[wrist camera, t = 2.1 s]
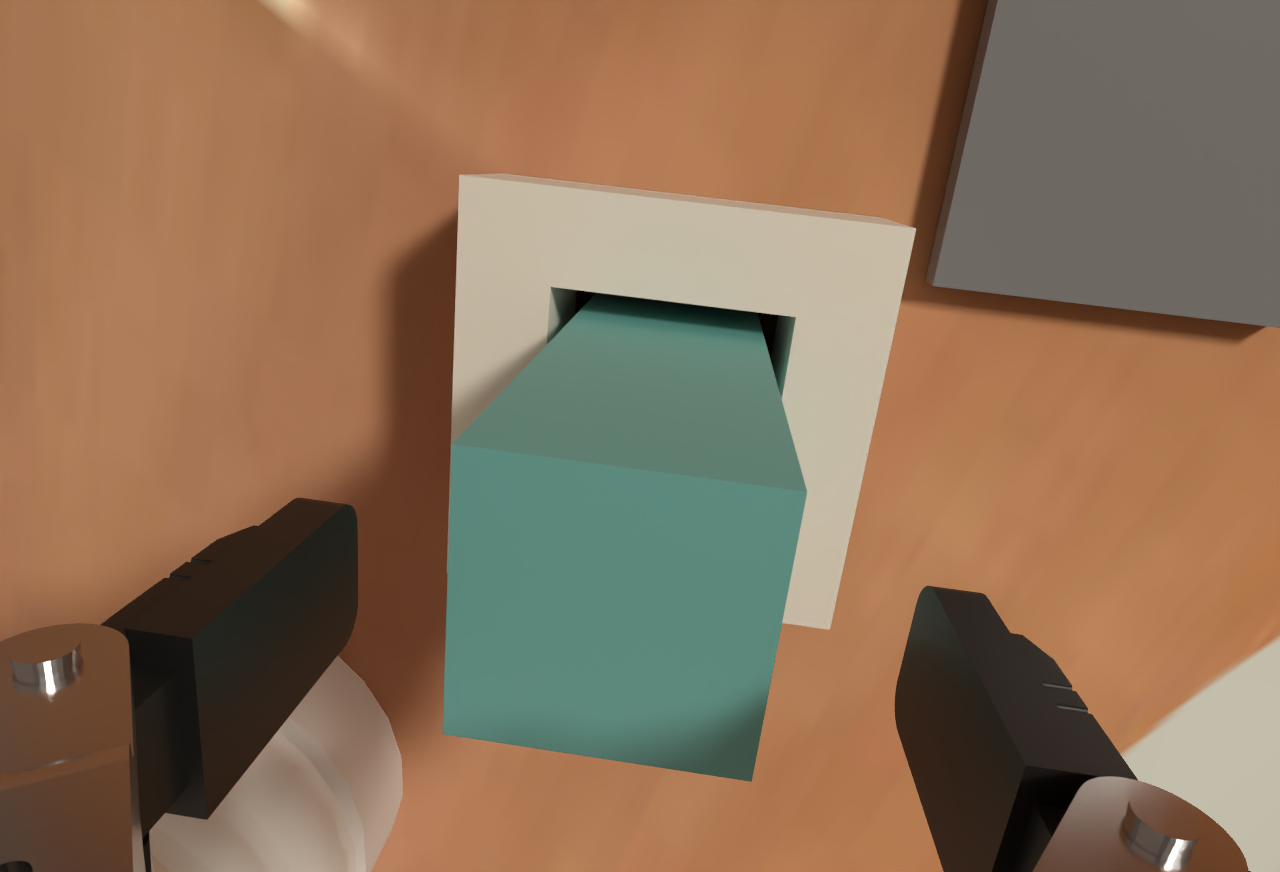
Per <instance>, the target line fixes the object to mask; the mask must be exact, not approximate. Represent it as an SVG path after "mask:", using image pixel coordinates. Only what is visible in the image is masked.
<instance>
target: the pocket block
mask: <svg viewBox="0 0 1280 872" xmlns="http://www.w3.org/2000/svg"><path fill="white" fill-rule="evenodd" d="M915 233H916V228H913V227H910V226H907V225H904V224H900V223H897V222H894V221H890V220H887V219H884V218H881V217H873V216H864V215H856V214H847V213H838V212H830V211H821V210H813V209H804V208H796V207H787V206H778V205H770V204H761V203H753V202H744V201H736V200H727V199H718V198H710V197H701V196H693V195H684V194H676V193H667V192H658V191H650V190H641V189H633V188H624V187H616V186H607V185H598V184H590V183H581V182H573V181H564V180H556V179H547V178H538V177H530V176H521V175H513V174H474V175H459V204H458V235H457V267H456V298H455V329H454V360H453V391H452V423H451V454H450V485H449V516H448V548H447V575H448V549H449V518H450V487H451V456H452V443H453V442H454V441H455V440H456V439H457V438H458V437H459V436H460V435H461V434H462V433H463V432H464V431H465V430H466V429H467V428H468V427H469V426H470V425H471V424H472V423H473V421H474V420H475V419H476V418H477V417H478V416H479V415H480V414H481V413H482V412H483V411H484V410H485V409H486V408H487V407H488V406H489V405H490V404H491V403H492V402H493V401H494V400H495V398H496V397H497V396H498V395H499V394H500V393H501V392H502V391H503V390H504V389H505V388H506V387H507V386H508V385H509V384H510V383H511V382H512V381H513V380H514V379H515V378H516V377H517V375H518V374H519V373H520V372H521V371H522V370H523V369H524V368H525V367H526V366H527V365H528V364H529V363H530V362H531V361H532V360H533V359H534V358H535V357H536V356H537V355H538V354H539V352H540V351H541V350H542V349H543V348H544V347H545V346H546V345H547V344H548V343H549V342H550V341H551V340H552V339H553V338H554V337H555V336H556V335H557V334H558V333H559V332H560V331H561V329H562V328H563V327H564V326H565V325H566V324H567V323H568V322H569V321H570V320H571V319H572V318H573V317H574V316H575V310H576V298H577V290H580V291H588V292H596V293H604V294H612V295H621V296H629V297H637V298H645V299H653V300H661V301H669V302H677V303H685V304H693V305H701V306H710V307H718V308H726V309H734V310H742V311H750V312H758V313H766V314H774V315H778V319H777V325H776V331H775V337H774V343H773V349H772V355H771V363H772V367H773V371H774V374H775V378H776V381H777V385H778V389H779V392H780V396H781V399H782V403H783V406H784V410H785V414H786V417H787V421H788V424H789V428H790V432H791V435H792V439H793V442H794V446H795V450H796V453H797V457H798V460H799V464H800V468H801V471H802V475H803V478H804V482H805V485H806V489H807V496H806V501H805V507H804V512H803V517H802V522H801V527H800V533H799V538H798V543H797V548H796V553H795V559H794V564H793V569H792V574H791V579H790V584H789V590H788V595H787V600H786V605H785V610H784V616H783V621H782V623H786V624H793V625H800V626H807V627H814V628H821V629H828V630H830V626H831V622H832V617H833V612H834V608H835V603H836V598H837V594H838V589H839V585H840V580H841V575H842V571H843V566H844V561H845V557H846V552H847V548H848V543H849V538H850V534H851V529H852V524H853V520H854V515H855V511H856V506H857V501H858V497H859V492H860V487H861V483H862V478H863V473H864V469H865V464H866V460H867V455H868V450H869V446H870V441H871V436H872V432H873V427H874V423H875V418H876V413H877V409H878V404H879V399H880V395H881V390H882V386H883V381H884V376H885V372H886V367H887V362H888V358H889V353H890V348H891V344H892V339H893V335H894V330H895V325H896V321H897V316H898V311H899V307H900V302H901V298H902V293H903V288H904V284H905V279H906V274H907V270H908V265H909V261H910V256H911V251H912V247H913V242H914V237H915Z"/></svg>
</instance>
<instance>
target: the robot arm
mask: <svg viewBox="0 0 1280 872" xmlns="http://www.w3.org/2000/svg"><path fill="white" fill-rule="evenodd" d="M357 608H358V534H357V516H356V512H355V510H354V508H353V507H352V506H351V505H348V504H341V503H334V502H327V501H319V500H312V499H305V498H296V499H294V500H292V501H291V502H290V503H288V504H287V505H286V506H284V507H283V508H282V509H280V510H279V511H278V512H276V513H275V514H274V515H273V516H271V517H270V518H269V519H267V520H266V521H265V522H263V523H262V524H261V525H259V526H251V527H249V528H246V529H243V530H241V531H238V532H236V533H233V534H230V535H228V536H225V537H223V538H220V539H217V540H216V541H215V542H213V543H212V544H210V545H209V546H208V547H206V548H205V549H204V550H202V551H201V552H199V553H198V554H197V555H195V556H194V557H193V558H192V560H191V562H186V563H184V564H183V565H182V566H180V567H179V568H177V569H176V570H175V571H173V572H172V573H171V574H170V577H169V578H164V579H162V580H161V581H159V582H158V583H157V584H155V585H154V586H153V587H151V588H150V589H148V590H147V591H146V592H144V593H143V594H142V595H140V596H139V597H137V598H136V599H135V600H133V601H132V602H131V603H129V604H128V605H126V606H125V607H124V608H122V609H121V610H120V611H118V612H117V613H115V614H114V615H113V616H111V617H110V618H109V619H107V620H106V621H104V622H103V623H102V624H100V625H95V624H64V625H56V626H50V627H45V628H40V629H36V630H32V631H28V632H25V633H22V634H19V635H16V636H13V637H10V638H8V639H6V640H3V641H1V642H0V872H153V857H152V845H151V837H150V830H151V829H152V827H153V826H154V825H155V824H156V823H157V822H158V820H159V819H160V818H161V817H162V816H163V815H164V814H165V813H168V814H174V815H180V816H186V817H192V818H199V819H205V820H208V818H209V817H210V816H211V815H212V813H213V812H214V811H215V810H216V808H217V807H218V806H219V804H220V803H221V802H222V801H223V799H224V798H225V797H226V796H227V794H228V793H229V792H230V791H231V789H232V788H233V787H234V786H235V784H236V783H237V782H238V780H239V779H240V778H241V777H242V775H243V774H244V773H245V772H246V770H247V769H248V768H249V767H250V765H251V764H252V763H253V762H254V760H255V759H256V758H257V757H258V755H259V754H260V753H261V751H262V750H263V749H264V748H265V746H266V745H267V744H268V743H269V741H270V740H271V739H272V738H273V736H274V735H275V734H276V733H277V731H278V730H279V729H280V727H281V726H282V725H283V724H284V722H285V721H286V720H287V719H288V717H289V716H290V715H291V714H292V712H293V711H294V710H295V709H296V707H297V706H298V705H299V703H300V702H301V701H302V700H303V698H304V697H305V696H306V695H307V693H308V692H309V691H310V690H311V688H312V687H313V686H314V685H315V683H316V682H317V681H318V680H319V678H320V677H321V676H322V674H323V673H324V672H325V671H326V669H327V668H328V667H329V666H330V664H331V663H332V662H333V661H334V659H335V658H336V657H337V656H338V654H339V653H340V652H341V650H342V649H343V648H344V646H345V645H346V643H347V642H348V640H349V638H350V635H351V633H352V630H353V627H354V624H355V620H356V615H357ZM1087 710H1088V708H1087V706H1086V705H1085V704H1084V702H1083V701H1082V699H1081V698H1080V696H1079V695H1078V694H1077V692H1076V691H1072V685H1071V684H1070V682H1069V681H1068V679H1067V678H1066V676H1065V675H1064V674H1063V672H1062V671H1061V669H1060V668H1059V666H1058V665H1057V664H1056V662H1055V661H1054V659H1052V658H1051V657H1050V656H1048V655H1047V654H1046V653H1045V652H1043V651H1042V650H1041V649H1040V648H1038V647H1037V646H1036V645H1034V644H1033V643H1032V642H1031V641H1029V640H1028V639H1027V638H1025V637H1024V636H1023V635H1019V634H1012V633H1010V632H1009V630H1008V629H1007V627H1006V626H1005V624H1004V623H1003V621H1002V620H1001V618H1000V616H999V615H998V613H997V612H996V610H995V609H994V607H993V606H992V604H991V602H990V601H989V599H988V598H987V597H986V595H984V594H983V593H977V592H969V591H962V590H955V589H948V588H940V587H933V586H926V587H925V588H923V590H922V591H921V593H920V595H919V598H918V601H917V604H916V608H915V612H914V616H913V620H912V624H911V628H910V632H909V636H908V640H907V644H906V648H905V652H904V657H903V661H902V665H901V669H900V673H899V677H898V681H897V686H896V694H895V719H896V726H897V730H898V733H899V736H900V740H901V743H902V746H903V749H904V752H905V755H906V758H907V761H908V764H909V767H910V770H911V773H912V776H913V779H914V782H915V785H916V788H917V791H918V795H919V798H920V801H921V804H922V807H923V810H924V813H925V816H926V819H927V822H928V825H929V828H930V831H931V834H932V837H933V840H934V843H935V846H936V850H937V853H938V856H939V859H940V862H941V865H942V868H943V871H944V872H1250V871H1248V867H1247V863H1246V859H1245V857H1244V855H1243V853H1242V852H1241V850H1240V848H1239V847H1238V845H1237V844H1236V843H1235V842H1234V840H1233V839H1232V838H1231V837H1230V836H1229V834H1228V833H1227V832H1226V831H1225V830H1224V829H1223V828H1222V827H1221V826H1220V825H1218V824H1217V823H1216V822H1215V821H1214V820H1213V819H1211V818H1210V817H1209V816H1208V815H1206V814H1205V813H1203V812H1202V811H1201V810H1199V809H1198V808H1196V807H1195V806H1193V805H1192V804H1190V803H1188V802H1187V801H1185V800H1183V799H1181V798H1179V797H1178V796H1176V795H1174V794H1172V793H1170V792H1167V791H1165V790H1163V789H1161V788H1158V787H1156V786H1153V785H1150V784H1147V783H1145V782H1141V781H1138V779H1137V778H1136V776H1135V775H1134V774H1133V772H1132V771H1131V769H1130V768H1129V767H1128V765H1127V764H1126V762H1125V761H1124V759H1123V758H1122V756H1121V755H1120V754H1119V752H1118V751H1117V749H1116V748H1115V746H1114V745H1113V744H1112V742H1111V741H1110V739H1109V738H1108V736H1107V735H1106V734H1105V732H1104V731H1103V729H1102V728H1101V726H1100V725H1099V724H1098V722H1097V721H1096V719H1095V718H1094V716H1093V715H1092V714H1088V711H1087Z"/></svg>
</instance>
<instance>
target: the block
mask: <svg viewBox="0 0 1280 872" xmlns="http://www.w3.org/2000/svg"><path fill="white" fill-rule="evenodd" d="M806 496H807V489H806V485H805V482H804V478H803V475H802V471H801V468H800V464H799V460H798V457H797V453H796V450H795V446H794V442H793V439H792V435H791V432H790V428H789V424H788V421H787V417H786V414H785V410H784V406H783V403H782V399H781V396H780V392H779V389H778V385H777V381H776V378H775V374H774V371H773V367H772V363H771V360H770V356H769V353H768V349H767V345H766V342H765V338H764V335H763V331H762V327H761V324H760V320H759V317H758V313H757V312H750V311H742V310H734V309H726V308H718V307H710V306H701V305H693V304H685V303H677V302H669V301H661V300H653V299H645V298H637V297H629V296H621V295H612V294H604V293H596V294H595V295H594V296H593V297H592V298H591V299H590V300H589V301H588V302H587V303H586V304H585V305H584V306H583V308H582V309H581V310H580V311H579V312H578V313H577V314H576V315H575V316H574V317H573V318H572V319H571V320H570V321H569V322H568V323H567V324H566V325H565V326H564V327H563V328H562V329H561V331H560V332H559V333H558V334H557V335H556V336H555V337H554V338H553V339H552V340H551V341H550V342H549V343H548V344H547V345H546V346H545V347H544V348H543V349H542V350H541V351H540V352H539V354H538V355H537V356H536V357H535V358H534V359H533V360H532V361H531V362H530V363H529V364H528V365H527V366H526V367H525V368H524V369H523V370H522V371H521V372H520V373H519V374H518V375H517V377H516V378H515V379H514V380H513V381H512V382H511V383H510V384H509V385H508V386H507V387H506V388H505V389H504V390H503V391H502V392H501V393H500V394H499V395H498V396H497V397H496V398H495V400H494V401H493V402H492V403H491V404H490V405H489V406H488V407H487V408H486V409H485V410H484V411H483V412H482V413H481V414H480V415H479V416H478V417H477V418H476V419H475V420H474V421H473V423H472V424H471V425H470V426H469V427H468V428H467V429H466V430H465V431H464V432H463V433H462V434H461V435H460V436H459V437H458V438H457V439H456V440H455V441H454V442H453V443H452V456H451V487H450V518H449V549H448V580H447V611H446V642H445V672H444V703H443V734H446V735H452V736H459V737H465V738H472V739H478V740H485V741H491V742H498V743H504V744H511V745H517V746H524V747H530V748H537V749H543V750H550V751H556V752H563V753H569V754H576V755H582V756H589V757H595V758H602V759H608V760H615V761H621V762H628V763H634V764H641V765H647V766H654V767H660V768H667V769H673V770H680V771H686V772H693V773H699V774H706V775H712V776H719V777H725V778H732V779H738V780H745V781H751V782H752V777H753V771H754V766H755V761H756V756H757V751H758V745H759V740H760V735H761V730H762V725H763V719H764V714H765V709H766V704H767V699H768V694H769V688H770V683H771V678H772V673H773V668H774V662H775V657H776V652H777V647H778V642H779V636H780V631H781V626H782V621H783V616H784V610H785V605H786V600H787V595H788V590H789V584H790V579H791V574H792V569H793V564H794V559H795V553H796V548H797V543H798V538H799V533H800V527H801V522H802V517H803V512H804V507H805V501H806Z"/></svg>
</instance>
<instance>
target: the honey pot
mask: <svg viewBox="0 0 1280 872" xmlns="http://www.w3.org/2000/svg"><path fill="white" fill-rule="evenodd" d="M106 620H107V619H106ZM106 620H105V621H106ZM102 623H103V622H102ZM102 623H101V624H102ZM99 625H100V624H99ZM402 796H403V791H402V758H401V755H400V752H399V749H398V746H397V743H396V740H395V737H394V734H393V731H392V728H391V725H390V722H389V719H388V717H387V716H386V714H385V713H384V711H383V709H382V708H381V706H380V705H379V703H378V702H377V700H376V699H375V697H374V696H373V694H372V693H371V691H370V690H369V688H368V687H367V685H366V684H365V682H364V681H363V679H362V678H360V677H359V676H358V675H357V674H356V673H355V672H354V671H353V670H352V669H351V668H350V667H349V666H348V665H347V664H346V663H345V662H344V661H343V660H342V659H341V658H339V657H338V656H337V657H336V658H335V659H334V661H333V662H332V663H331V664H330V666H329V667H328V668H327V669H326V671H325V672H324V673H323V674H322V676H321V677H320V678H319V680H318V681H317V682H316V683H315V685H314V686H313V687H312V688H311V690H310V691H309V692H308V693H307V695H306V696H305V697H304V698H303V700H302V701H301V702H300V703H299V705H298V706H297V707H296V709H295V710H294V711H293V712H292V714H291V715H290V716H289V717H288V719H287V720H286V721H285V722H284V724H283V725H282V726H281V727H280V729H279V730H278V731H277V733H276V734H275V735H274V736H273V738H272V739H271V740H270V741H269V743H268V744H267V745H266V746H265V748H264V749H263V750H262V751H261V753H260V754H259V755H258V757H257V758H256V759H255V760H254V762H253V763H252V764H251V765H250V767H249V768H248V769H247V770H246V772H245V773H244V774H243V775H242V777H241V778H240V779H239V780H238V782H237V783H236V784H235V786H234V787H233V788H232V789H231V791H230V792H229V793H228V794H227V796H226V797H225V798H224V799H223V801H222V802H221V803H220V804H219V806H218V807H217V808H216V810H215V811H214V812H213V813H212V815H211V816H210V817H209V818H208V820H205V819H199V818H192V817H186V816H180V815H174V814H168V813H165V814H164V815H163V816H162V817H161V818H160V819H159V820H158V822H157V823H156V824H155V825H154V826H153V827H152V829H151V830H150V837H151V845H152V857H153V872H372V869H373V867H374V865H375V863H376V861H377V859H378V857H379V855H380V853H381V851H382V849H383V847H384V845H385V843H386V841H387V839H388V837H389V835H390V833H391V831H392V828H393V825H394V822H395V819H396V815H397V812H398V809H399V806H400V803H401V799H402Z"/></svg>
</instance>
